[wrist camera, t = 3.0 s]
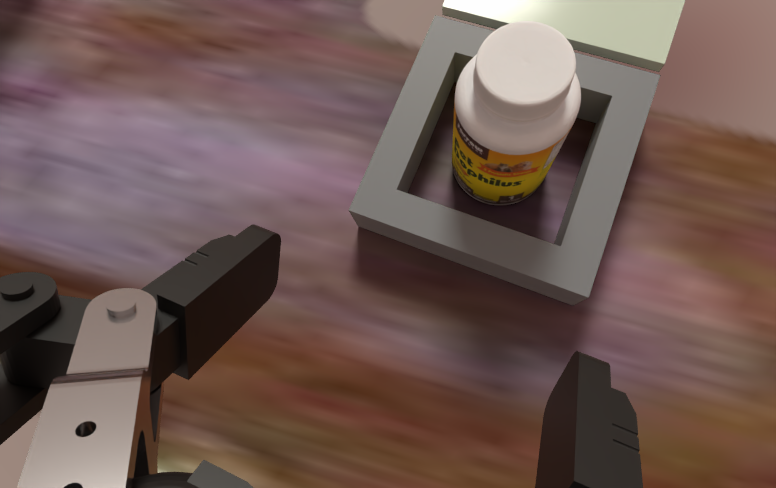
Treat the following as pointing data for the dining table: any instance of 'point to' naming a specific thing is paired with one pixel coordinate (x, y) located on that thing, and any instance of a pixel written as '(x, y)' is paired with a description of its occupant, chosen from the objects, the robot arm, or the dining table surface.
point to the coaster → (588, 24)
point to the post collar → (483, 238)
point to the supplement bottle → (513, 111)
